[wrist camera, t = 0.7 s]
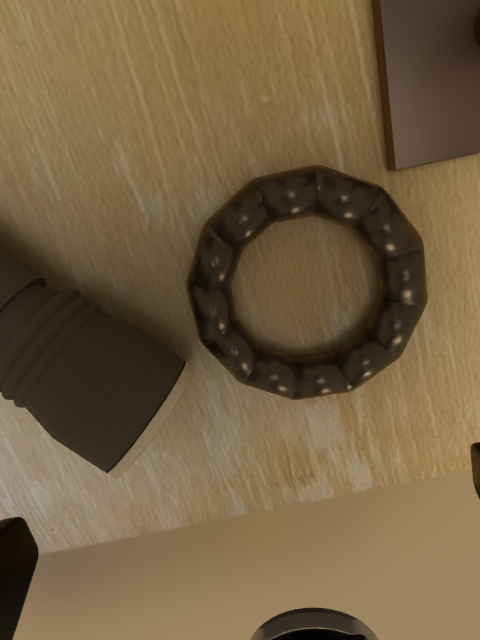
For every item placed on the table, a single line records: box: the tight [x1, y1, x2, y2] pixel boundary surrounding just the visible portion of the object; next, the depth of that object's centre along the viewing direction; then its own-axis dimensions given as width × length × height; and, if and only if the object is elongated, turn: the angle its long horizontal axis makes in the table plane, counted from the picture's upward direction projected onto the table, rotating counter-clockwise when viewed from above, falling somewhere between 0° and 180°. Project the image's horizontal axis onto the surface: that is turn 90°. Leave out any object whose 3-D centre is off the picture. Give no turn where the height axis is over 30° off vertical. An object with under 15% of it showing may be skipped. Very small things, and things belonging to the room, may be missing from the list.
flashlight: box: [0, 247, 194, 479], centre depth 18 cm, size 15×5×5 cm, turn 52°
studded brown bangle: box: [186, 165, 428, 400], centre depth 19 cm, size 10×10×2 cm
